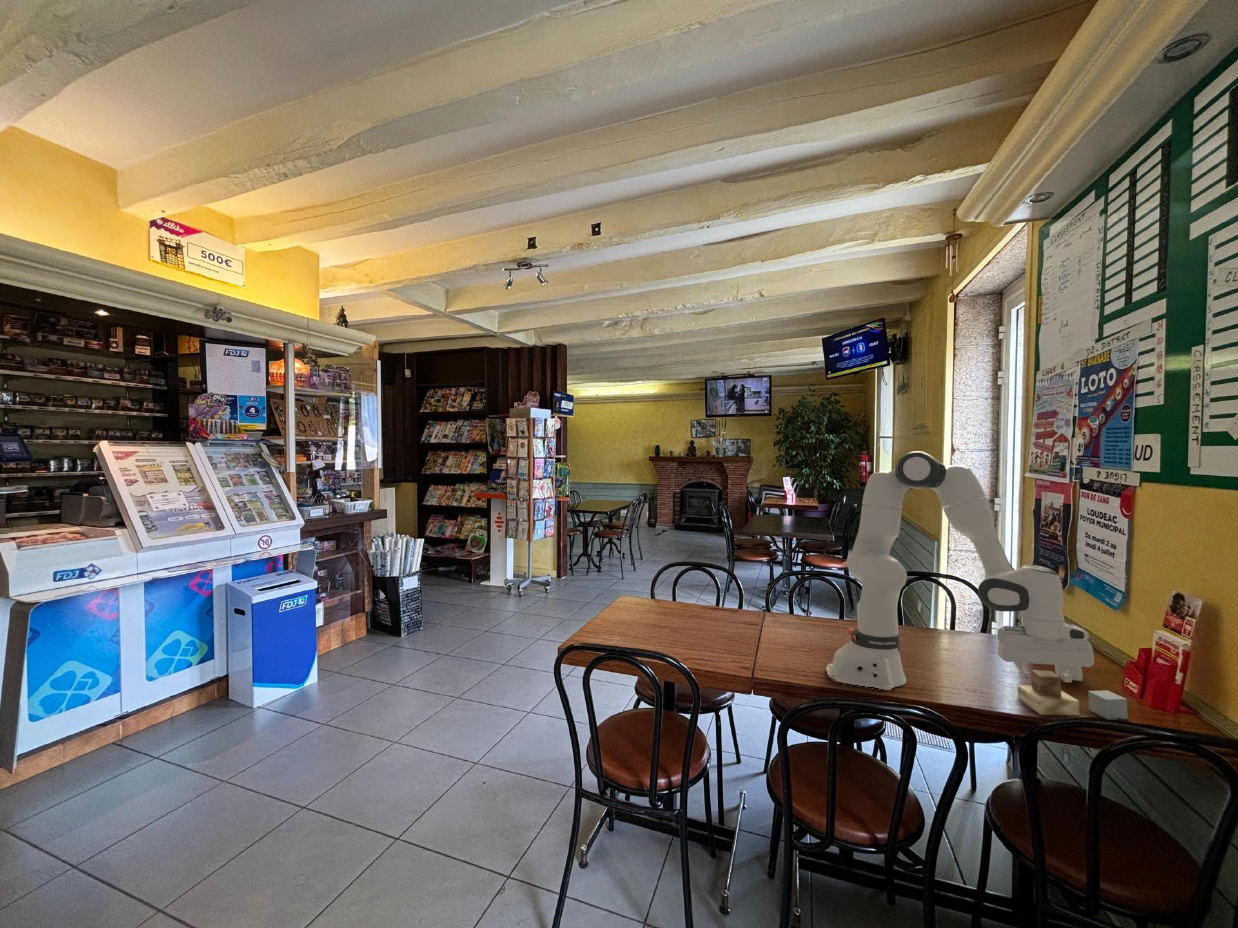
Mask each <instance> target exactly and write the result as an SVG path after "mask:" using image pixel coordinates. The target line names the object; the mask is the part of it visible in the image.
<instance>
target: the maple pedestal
mask: <svg viewBox="0 0 1238 928" xmlns="http://www.w3.org/2000/svg"><path fill="white" fill-rule="evenodd" d="M1017 696H1018V697H1017V699H1018V700H1019V701H1021V702H1022V703H1024V704H1025V705H1026V706H1028V707H1029V708H1031V710H1034V711H1035V712H1037V713H1038V714H1039V715H1048V716H1049V715H1051V716H1052V715H1054V716H1080V715H1081V714H1080V700H1078V699H1076V698H1075V697H1073V696H1071V695H1069V694H1068V693H1066V692H1065V691H1063V690H1061V697H1052V696H1041V695H1039V694H1038V693H1037V692H1036V691H1035V690H1034V689H1032V685H1021V684H1020V685H1017Z"/></svg>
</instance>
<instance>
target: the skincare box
mask: <svg viewBox="0 0 1238 928" xmlns="http://www.w3.org/2000/svg"><path fill="white" fill-rule="evenodd" d="M1054 669H1055V670H1054V671H1055V672H1054V673H1055V674H1056V675H1057V676H1059V677H1060V678H1061V679H1062V676H1061V673H1065V672H1066V671H1067V669H1068V667H1066V666H1065V665H1054ZM1072 681H1077V682H1083V668H1082V667H1081V666H1077V671H1076V672H1075V673H1074V675H1073V676H1072Z"/></svg>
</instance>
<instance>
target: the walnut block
mask: <svg viewBox="0 0 1238 928" xmlns="http://www.w3.org/2000/svg"><path fill="white" fill-rule="evenodd" d="M1061 680H1062V678H1060V677H1059V676H1057V675H1056V673H1055V672H1054V671H1052V670H1041V669H1031V686H1032V689H1034V690H1035V691H1036V692H1037V693H1038V694H1039V695H1041V696H1052V697H1061V691H1062V683H1061V682H1062V681H1061Z"/></svg>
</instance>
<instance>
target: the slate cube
mask: <svg viewBox="0 0 1238 928" xmlns="http://www.w3.org/2000/svg"><path fill="white" fill-rule="evenodd" d="M1087 693H1088V709H1089V711H1090V712H1092V713H1094V714H1095V715H1098V716H1100V717H1102V718H1104V719H1105V718H1106V720H1119V719H1118V718H1121V719H1120V720H1129V719H1128V717H1129V716H1128V699H1127V698H1125V697H1123V696H1121V695H1119V694H1116V693H1114V692H1113V691H1110V690H1108V689H1107V690H1088V691H1087Z"/></svg>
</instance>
